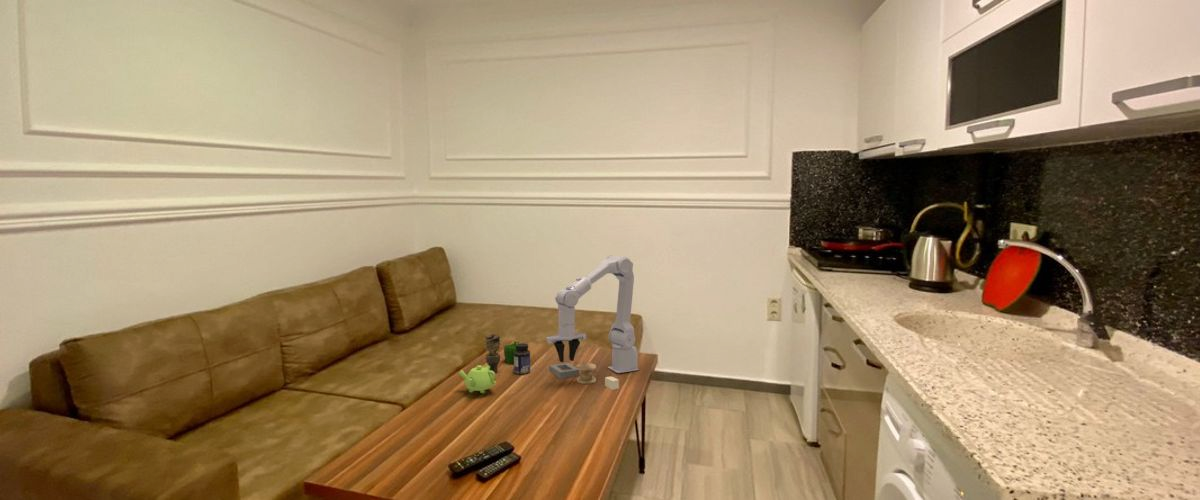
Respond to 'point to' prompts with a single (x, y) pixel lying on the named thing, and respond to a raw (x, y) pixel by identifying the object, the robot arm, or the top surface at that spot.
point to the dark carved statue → (492, 351)
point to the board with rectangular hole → (567, 373)
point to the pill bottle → (522, 359)
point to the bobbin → (586, 373)
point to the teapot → (479, 379)
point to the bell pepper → (510, 352)
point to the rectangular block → (612, 383)
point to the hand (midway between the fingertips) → (566, 360)
